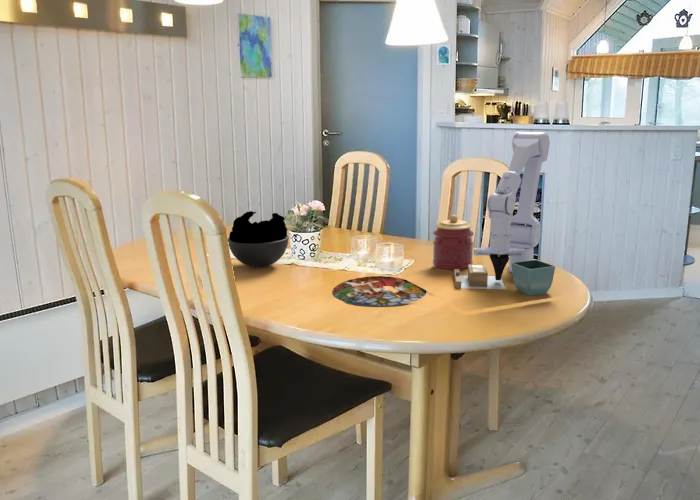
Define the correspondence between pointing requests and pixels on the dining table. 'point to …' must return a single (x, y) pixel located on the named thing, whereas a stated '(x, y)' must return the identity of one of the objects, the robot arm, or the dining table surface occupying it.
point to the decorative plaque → (377, 291)
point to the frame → (477, 275)
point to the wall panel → (463, 282)
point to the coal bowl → (258, 240)
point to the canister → (452, 244)
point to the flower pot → (532, 276)
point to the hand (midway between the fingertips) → (498, 279)
